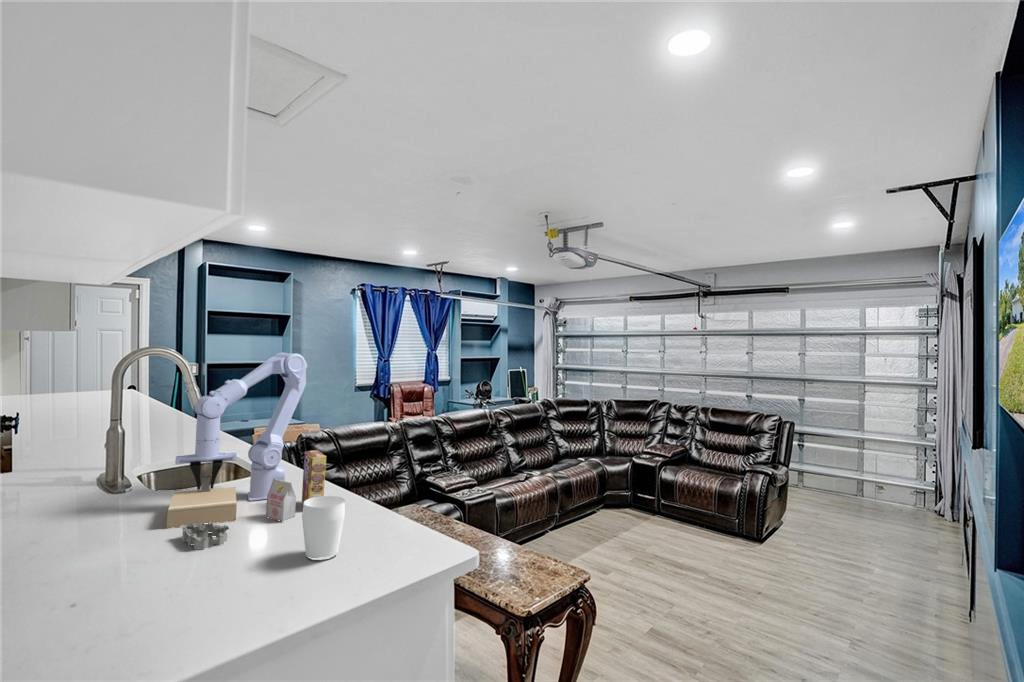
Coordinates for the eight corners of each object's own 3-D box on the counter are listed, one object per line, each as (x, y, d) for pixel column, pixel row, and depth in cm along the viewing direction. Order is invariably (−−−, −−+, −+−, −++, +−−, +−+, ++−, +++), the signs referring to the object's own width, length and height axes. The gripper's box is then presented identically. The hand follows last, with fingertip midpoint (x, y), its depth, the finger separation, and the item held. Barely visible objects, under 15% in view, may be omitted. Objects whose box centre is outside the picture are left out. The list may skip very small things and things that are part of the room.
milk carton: (278, 513, 139) (280, 477, 139) (294, 518, 136) (296, 481, 136) (266, 517, 136) (268, 480, 136) (282, 522, 133) (284, 484, 133)
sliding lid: (235, 488, 147) (236, 473, 147) (236, 504, 133) (237, 487, 133) (173, 494, 139) (174, 477, 139) (168, 511, 125) (168, 493, 125)
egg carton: (230, 544, 118) (231, 527, 118) (193, 553, 112) (194, 535, 113) (213, 531, 125) (214, 515, 125) (178, 539, 120) (179, 522, 120)
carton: (235, 503, 147) (235, 489, 147) (235, 520, 133) (236, 505, 133) (172, 509, 139) (173, 494, 139) (166, 528, 125) (167, 512, 125)
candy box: (324, 509, 144) (326, 455, 144) (308, 512, 142) (311, 457, 142) (316, 501, 151) (318, 449, 152) (301, 503, 149) (303, 451, 149)
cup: (324, 567, 108) (326, 510, 108) (290, 559, 111) (293, 504, 111) (351, 551, 116) (354, 499, 116) (319, 544, 119) (322, 493, 120)
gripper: (237, 435, 149) (234, 482, 149) (177, 438, 142) (175, 486, 142) (237, 439, 143) (235, 488, 143) (175, 442, 136) (173, 493, 135)
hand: (205, 488), depth 142 cm, fingers closed
